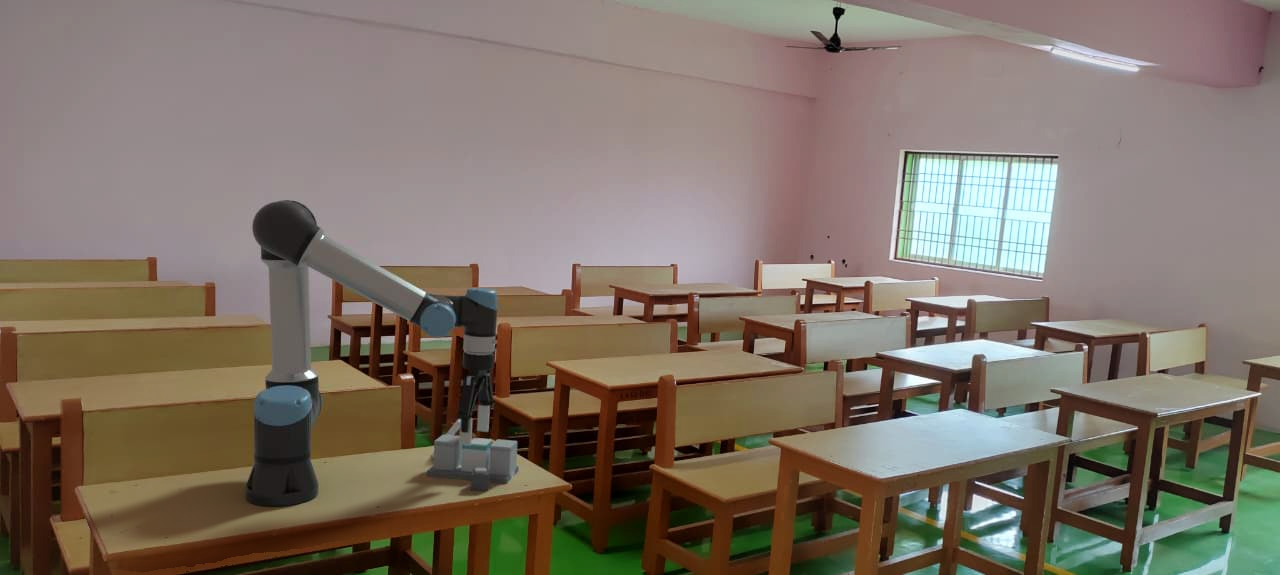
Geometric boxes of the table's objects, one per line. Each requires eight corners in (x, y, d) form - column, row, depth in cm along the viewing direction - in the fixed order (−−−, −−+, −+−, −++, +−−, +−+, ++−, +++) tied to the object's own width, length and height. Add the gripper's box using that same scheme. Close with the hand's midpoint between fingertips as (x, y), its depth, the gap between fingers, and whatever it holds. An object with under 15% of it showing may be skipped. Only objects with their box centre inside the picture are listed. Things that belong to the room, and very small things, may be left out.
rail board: (426, 475, 224) (427, 442, 223) (441, 463, 234) (442, 432, 233) (507, 483, 221) (508, 449, 220) (518, 471, 231) (519, 438, 230)
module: (461, 470, 225) (462, 442, 224) (467, 464, 230) (468, 437, 229) (485, 473, 224) (486, 444, 223) (491, 467, 229) (492, 439, 228)
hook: (481, 441, 238) (459, 427, 235) (452, 475, 239) (430, 462, 236) (478, 427, 244) (457, 414, 242) (450, 461, 246) (428, 448, 243)
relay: (470, 491, 215) (471, 471, 214) (472, 485, 219) (472, 466, 218) (488, 491, 215) (488, 472, 215) (489, 485, 219) (489, 466, 219)
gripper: (477, 362, 211) (472, 453, 213) (508, 345, 236) (503, 427, 238) (446, 359, 212) (441, 449, 214) (480, 342, 237) (475, 424, 239)
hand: (474, 437), depth 226 cm, fingers open, 13 cm apart
